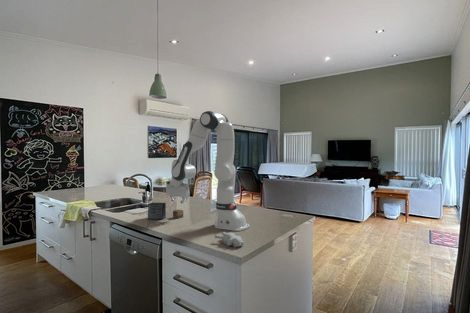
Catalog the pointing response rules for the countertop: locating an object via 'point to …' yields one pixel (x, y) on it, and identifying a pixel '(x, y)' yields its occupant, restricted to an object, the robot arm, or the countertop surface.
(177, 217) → the walnut cube
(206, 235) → the countertop surface
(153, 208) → the small box
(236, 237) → the bunny figurine
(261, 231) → the countertop surface
